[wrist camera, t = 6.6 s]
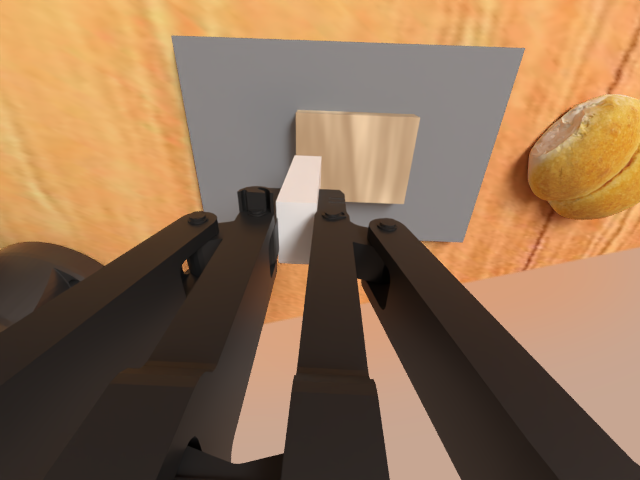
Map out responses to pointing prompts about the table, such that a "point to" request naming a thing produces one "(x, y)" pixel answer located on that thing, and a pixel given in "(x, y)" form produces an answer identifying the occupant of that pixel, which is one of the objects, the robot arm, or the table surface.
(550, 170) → the bread roll
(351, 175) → the light wood flat block
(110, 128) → the table surface
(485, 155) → the slate board
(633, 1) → the table surface
